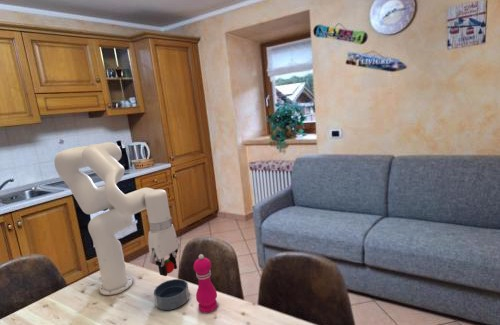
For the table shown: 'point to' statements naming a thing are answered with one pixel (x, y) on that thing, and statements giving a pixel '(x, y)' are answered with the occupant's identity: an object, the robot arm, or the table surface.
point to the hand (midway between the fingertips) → (168, 271)
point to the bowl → (171, 294)
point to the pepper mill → (205, 285)
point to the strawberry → (169, 265)
